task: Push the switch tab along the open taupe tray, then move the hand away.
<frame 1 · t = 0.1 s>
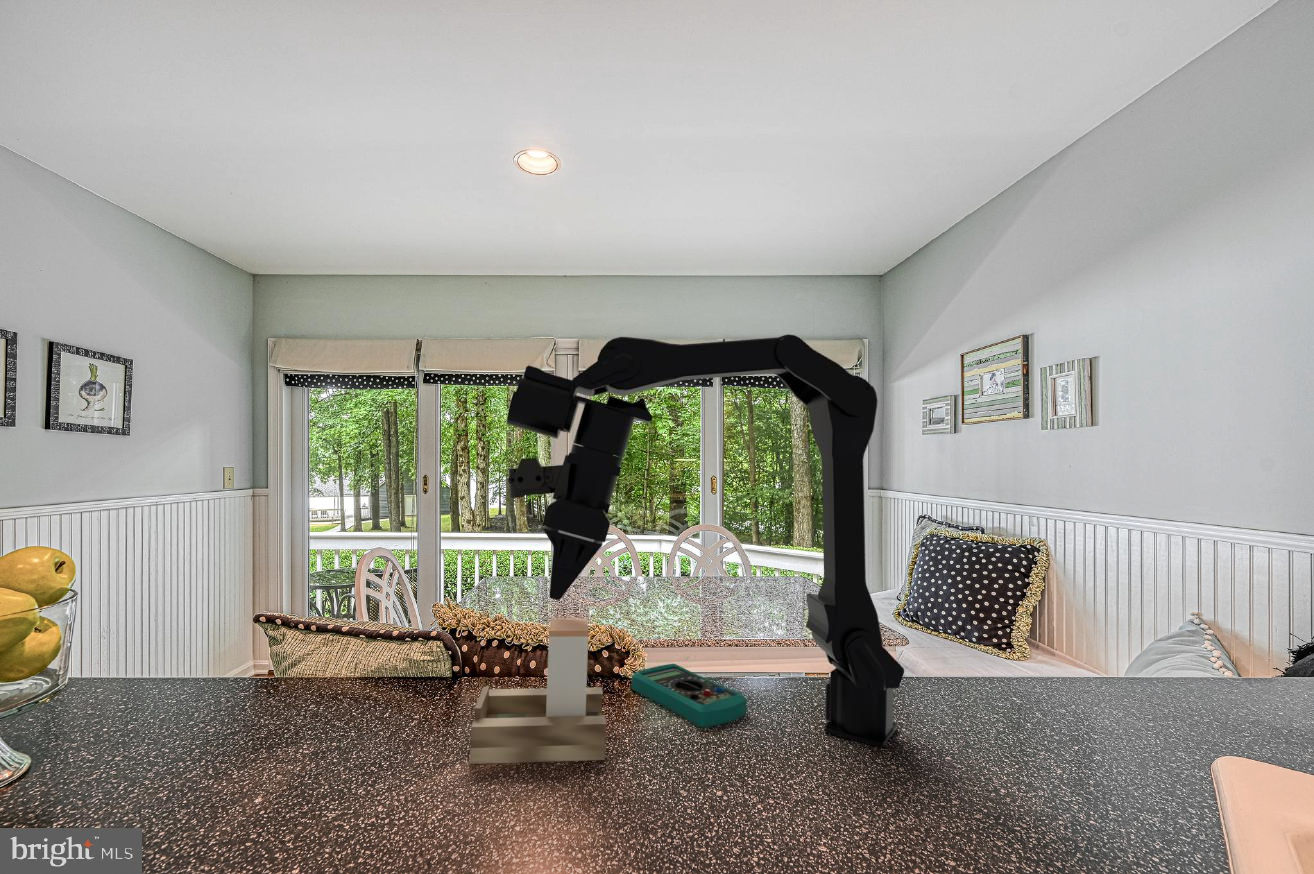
hand: (557, 589, 68), 15 cm above the kitchen counter, tool pointing down, fingers open, 9 cm apart
switch tab: (567, 672, 67), point 7 cm above the kitchen counter, slide at 0.0 cm
digital multimeter: (686, 706, 78), on the kitchen counter
open taupe tray: (540, 739, 66), on the kitchen counter
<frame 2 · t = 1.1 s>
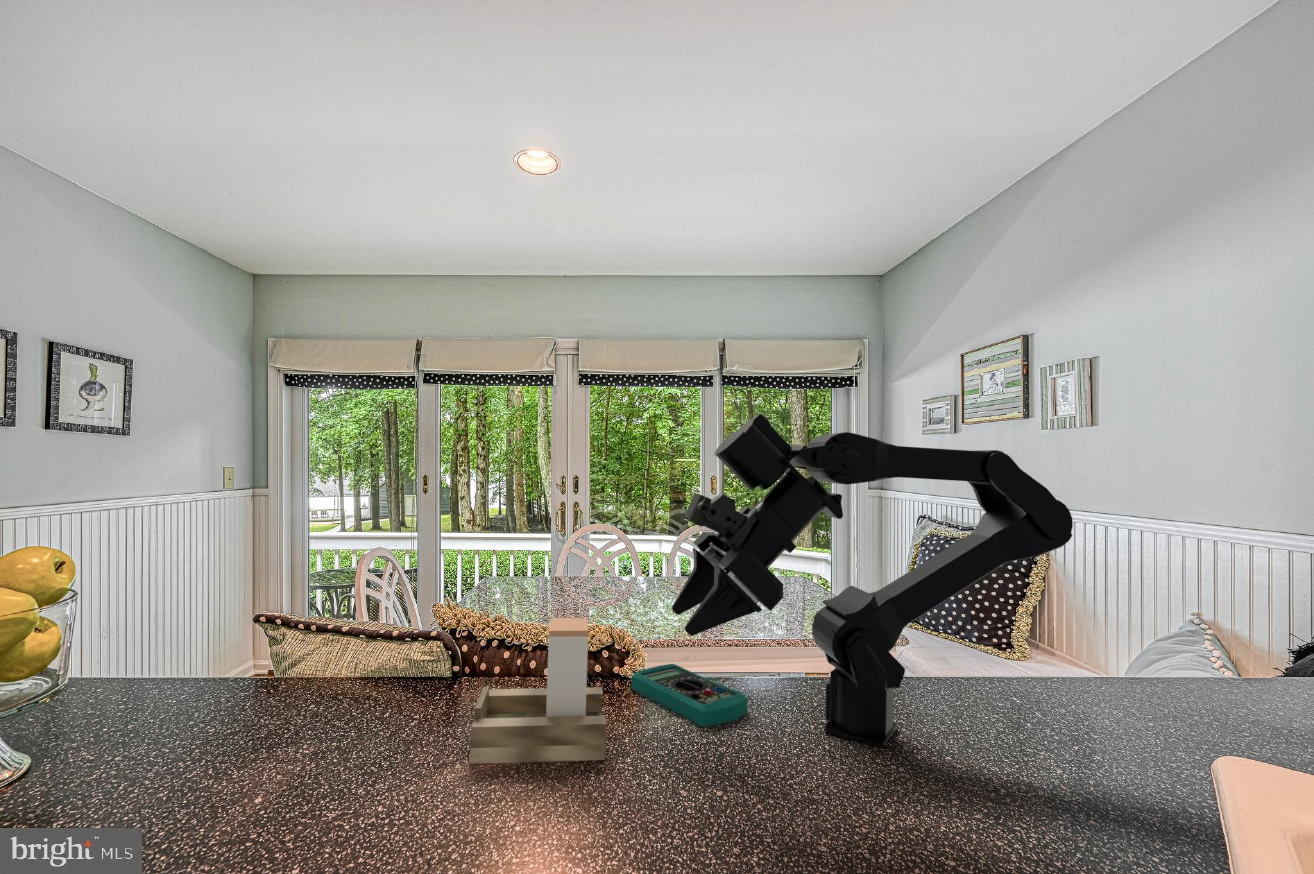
hand: (680, 621, 69), 12 cm above the kitchen counter, tool tilted 45°, fingers open, 8 cm apart
nothing on the kitchen counter moved.
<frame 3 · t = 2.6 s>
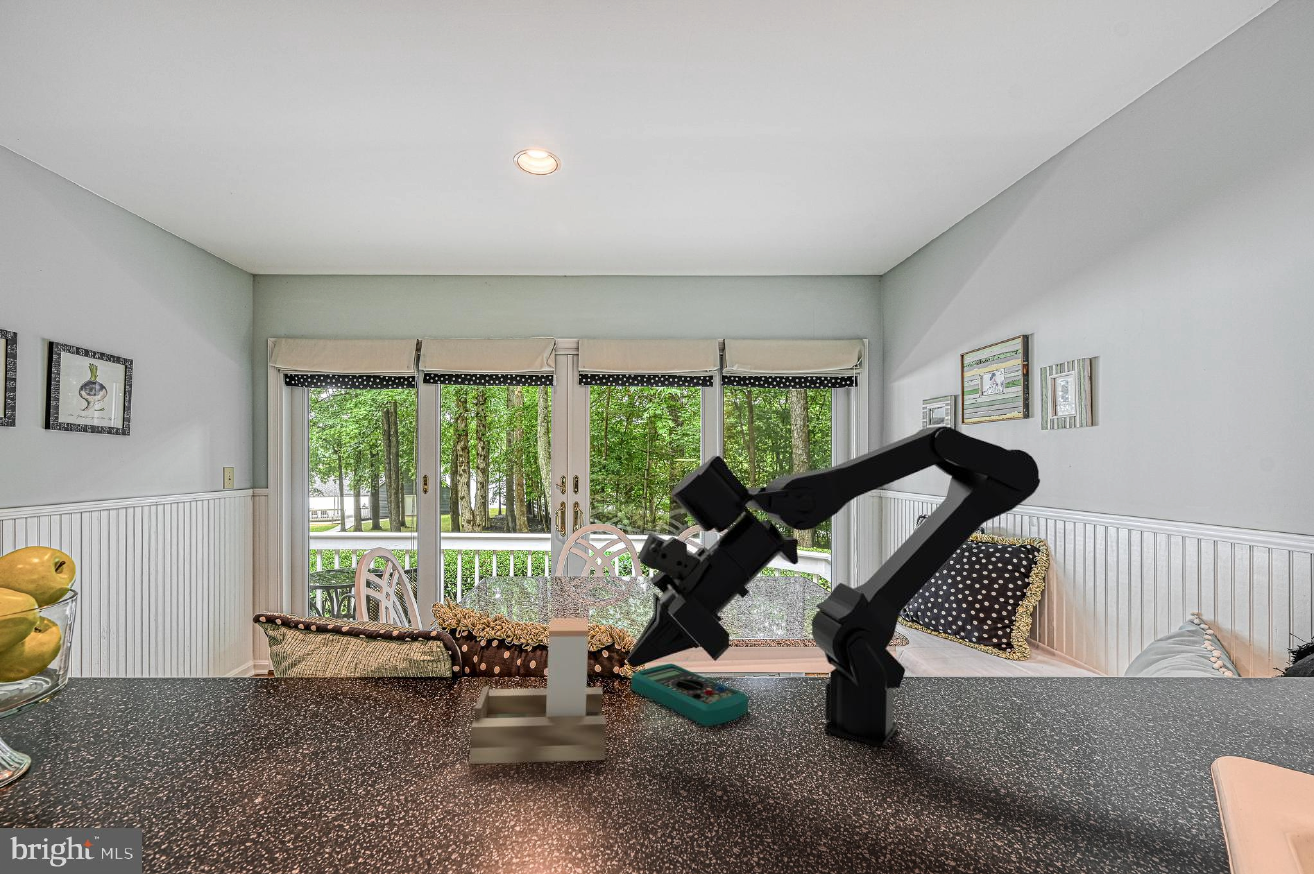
hand: (629, 663, 68), 8 cm above the kitchen counter, tool tilted 45°, fingers closed
nothing on the kitchen counter moved.
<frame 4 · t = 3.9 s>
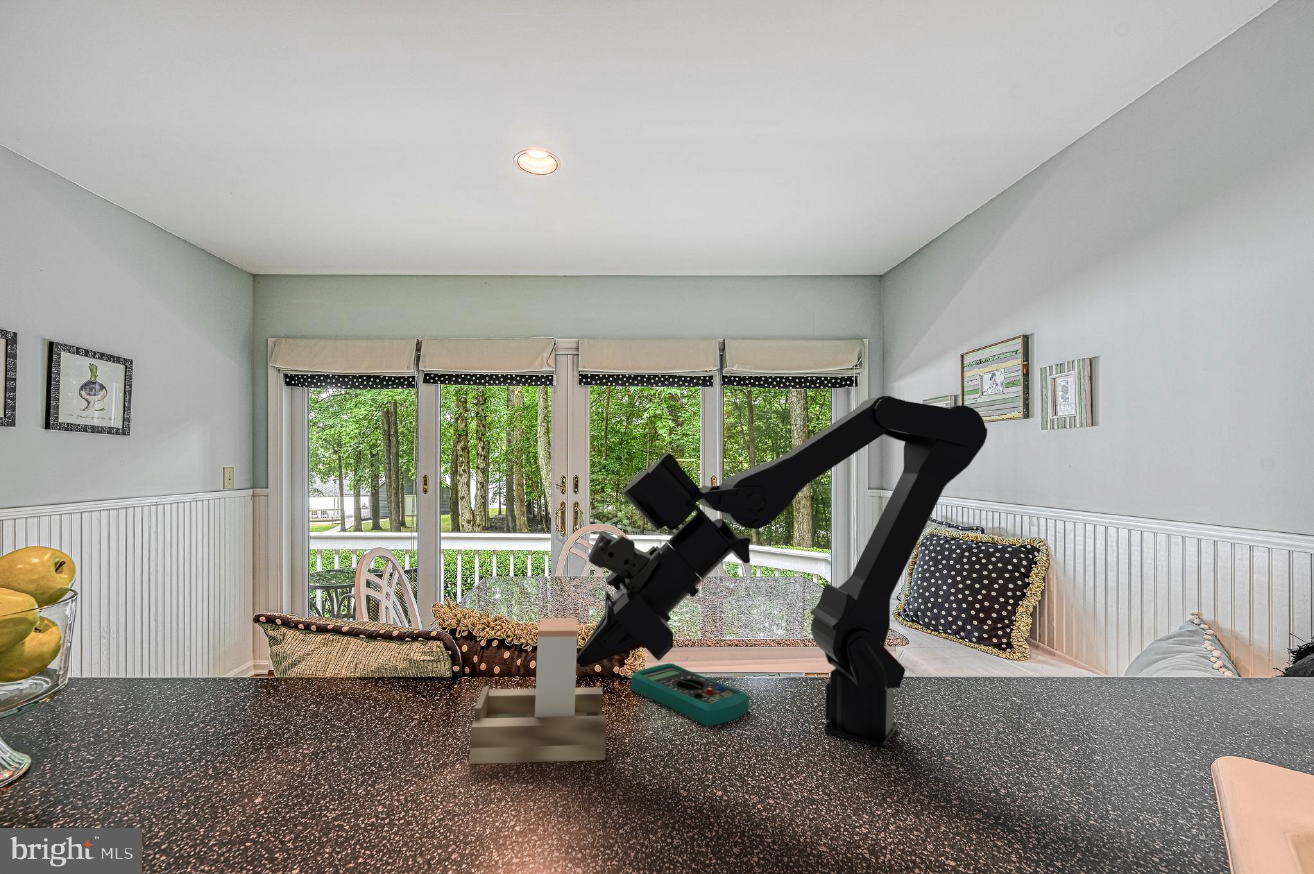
hand: (578, 663, 67), 8 cm above the kitchen counter, tool tilted 45°, fingers closed, pressing on switch tab
switch tab: (556, 672, 67), point 7 cm above the kitchen counter, slide at 1.1 cm, touching gripper
everything else where it was.
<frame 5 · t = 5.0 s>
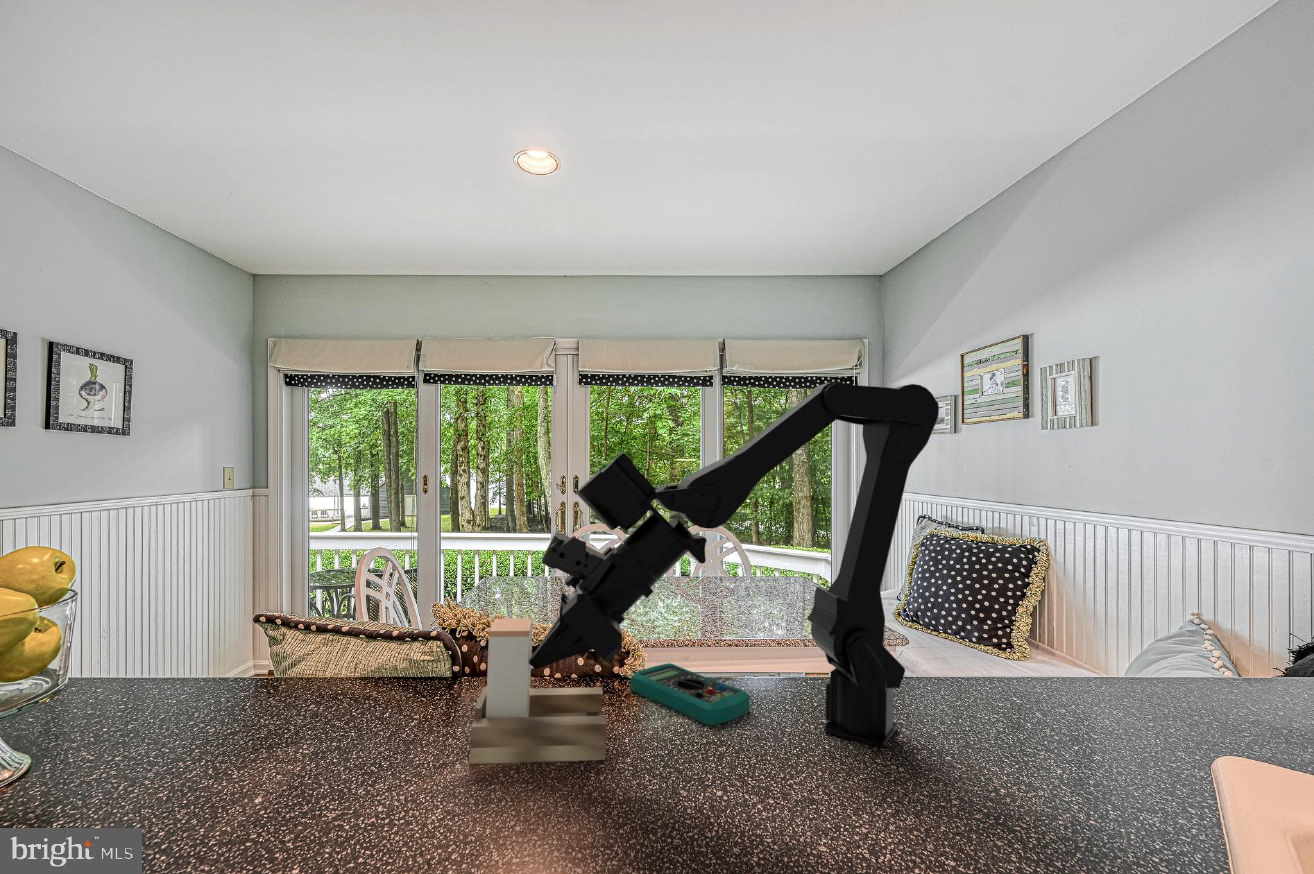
hand: (532, 665, 67), 8 cm above the kitchen counter, tool tilted 45°, fingers closed
switch tab: (509, 673, 66), point 7 cm above the kitchen counter, slide at 6.0 cm
everything else where it was.
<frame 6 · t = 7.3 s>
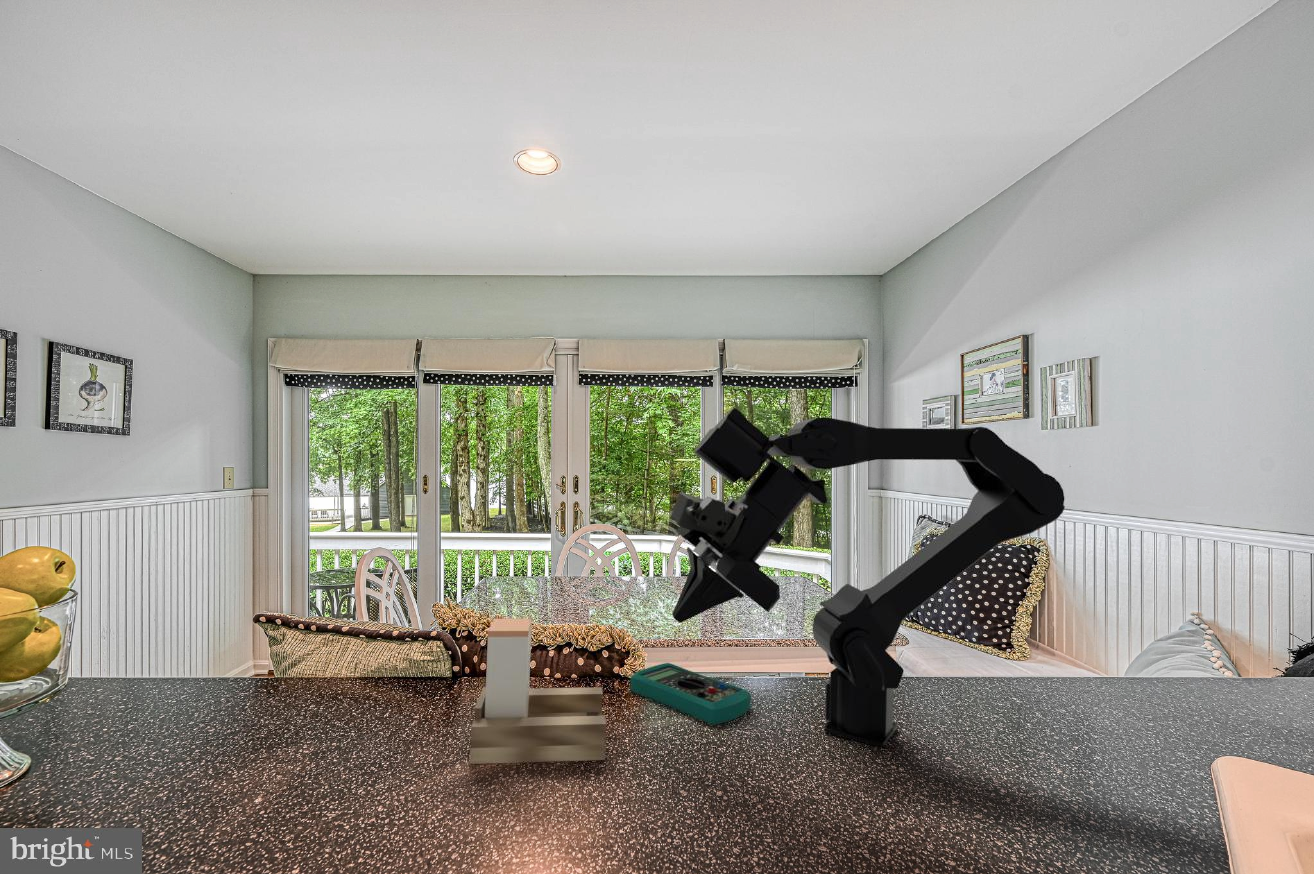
hand: (675, 619, 70), 12 cm above the kitchen counter, tool tilted 40°, fingers closed
nothing on the kitchen counter moved.
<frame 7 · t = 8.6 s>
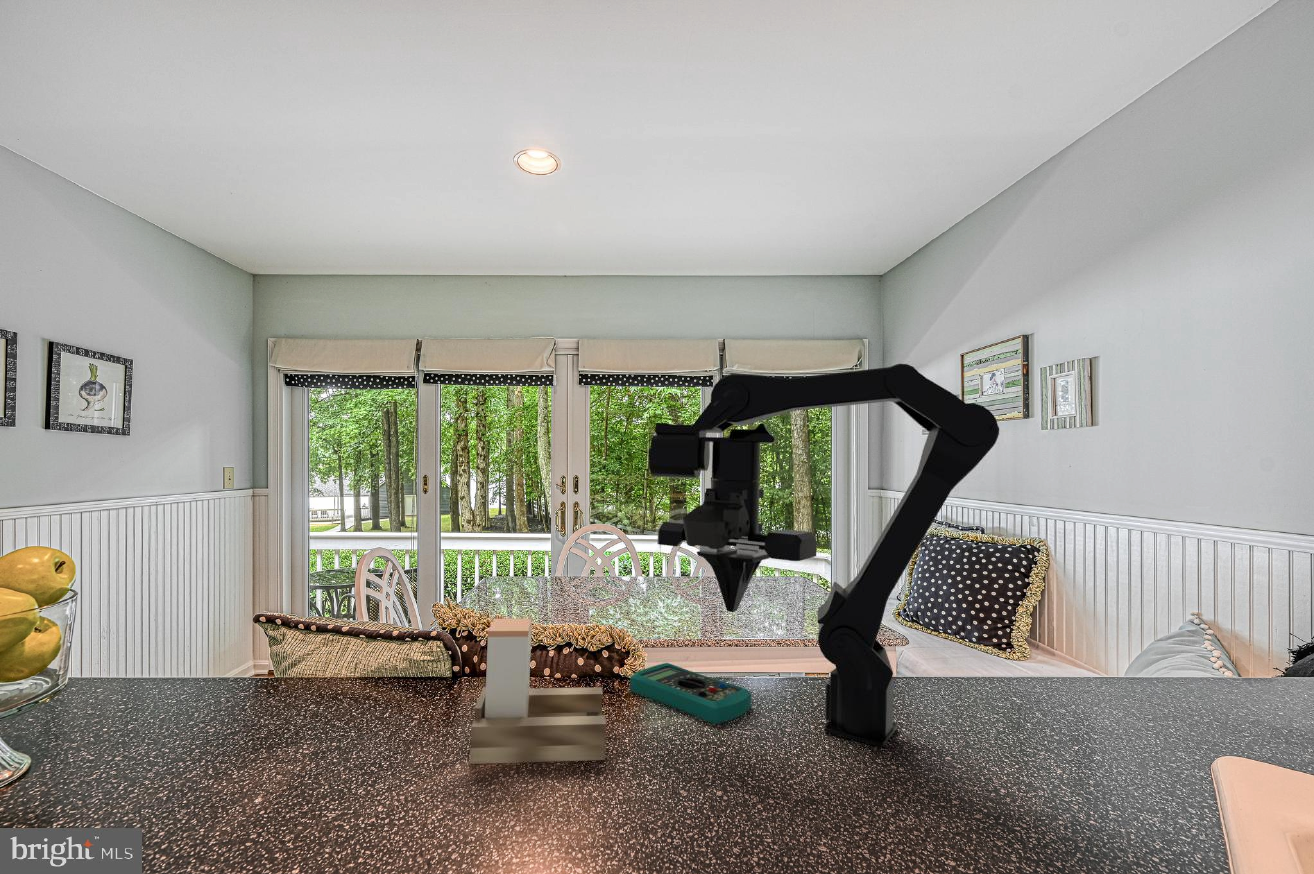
hand: (731, 611, 75), 12 cm above the kitchen counter, tool pointing down, fingers closed
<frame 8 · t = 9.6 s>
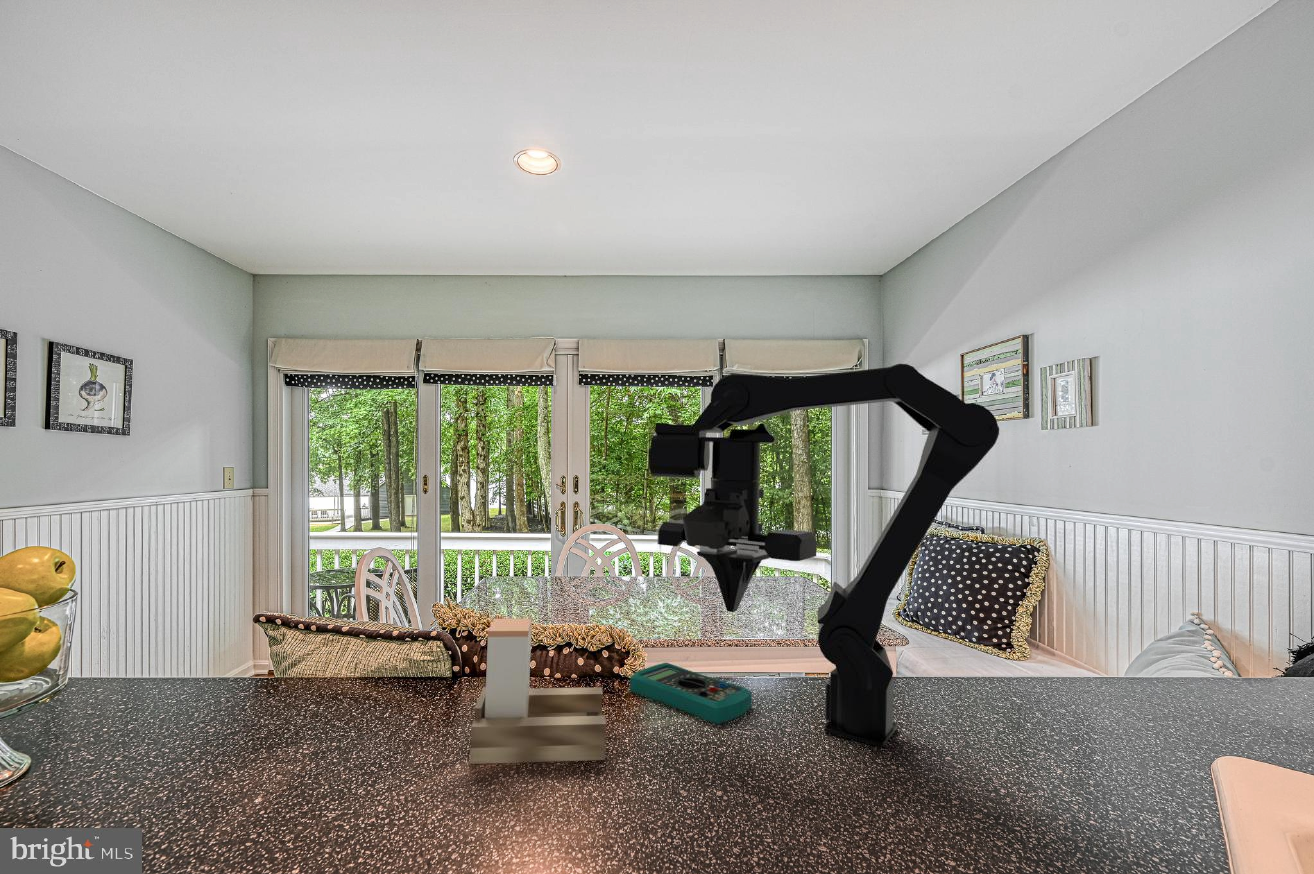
hand: (731, 611, 75), 12 cm above the kitchen counter, tool pointing down, fingers closed
nothing on the kitchen counter moved.
at the end: switch tab slide at 6.1 cm; digital multimeter moved 1.1 cm from its start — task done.
